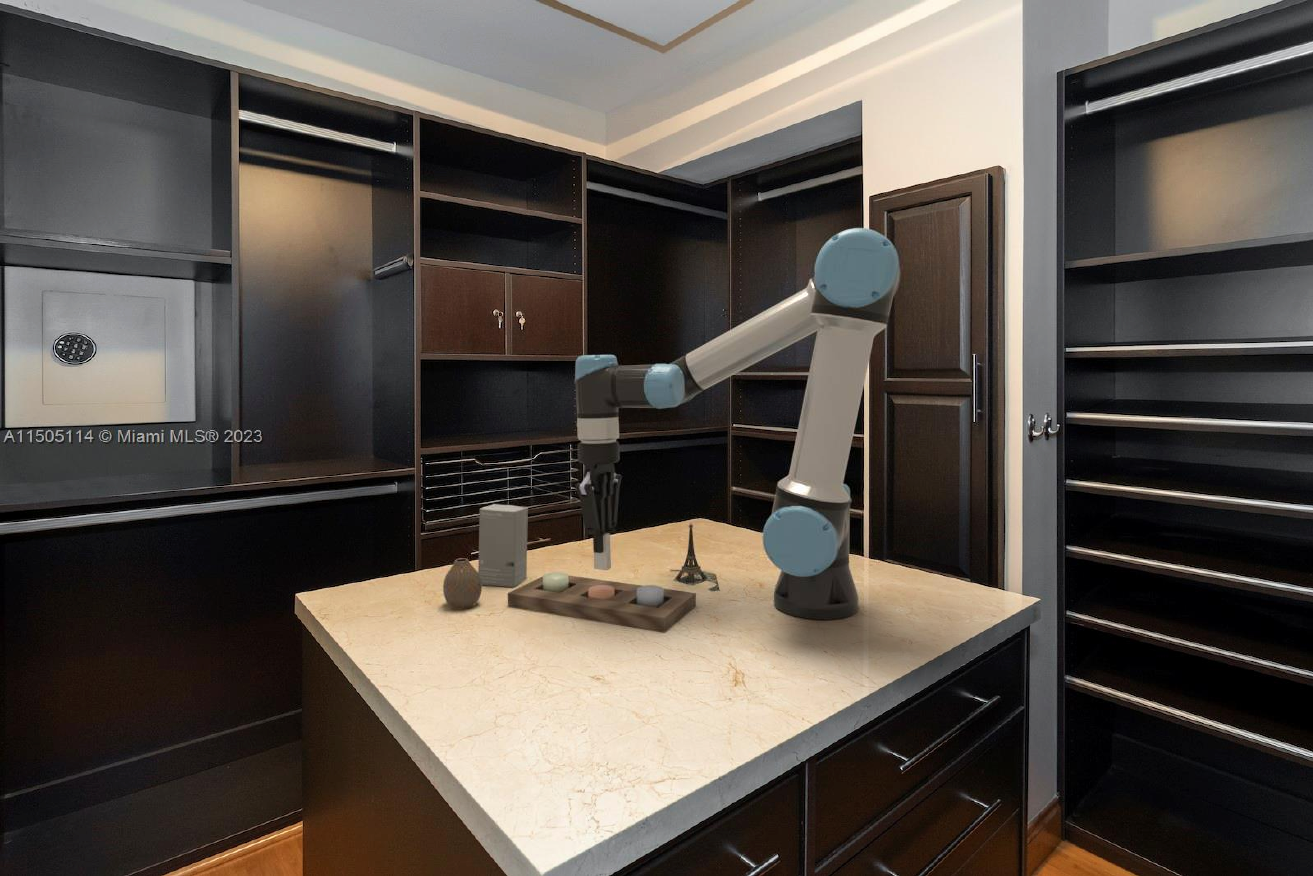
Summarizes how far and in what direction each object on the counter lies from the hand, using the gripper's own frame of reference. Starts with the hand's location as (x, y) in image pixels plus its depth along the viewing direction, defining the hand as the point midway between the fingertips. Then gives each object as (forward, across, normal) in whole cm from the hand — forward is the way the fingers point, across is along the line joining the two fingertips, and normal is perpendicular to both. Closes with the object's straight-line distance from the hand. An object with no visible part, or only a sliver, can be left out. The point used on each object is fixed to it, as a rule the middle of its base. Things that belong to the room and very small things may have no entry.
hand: (602, 568), depth 128 cm
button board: (+7, 0, 0) cm, 7 cm away
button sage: (+6, 0, -10) cm, 12 cm away
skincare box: (+7, -5, -26) cm, 28 cm away
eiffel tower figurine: (+8, -21, +9) cm, 25 cm away
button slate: (+6, 0, +10) cm, 11 cm away
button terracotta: (+7, 0, 0) cm, 7 cm away
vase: (+7, +10, -24) cm, 27 cm away
